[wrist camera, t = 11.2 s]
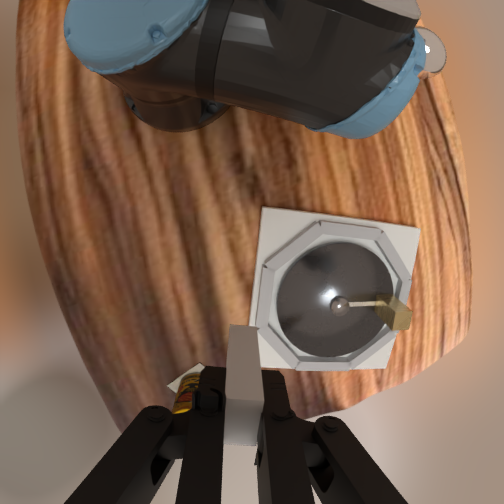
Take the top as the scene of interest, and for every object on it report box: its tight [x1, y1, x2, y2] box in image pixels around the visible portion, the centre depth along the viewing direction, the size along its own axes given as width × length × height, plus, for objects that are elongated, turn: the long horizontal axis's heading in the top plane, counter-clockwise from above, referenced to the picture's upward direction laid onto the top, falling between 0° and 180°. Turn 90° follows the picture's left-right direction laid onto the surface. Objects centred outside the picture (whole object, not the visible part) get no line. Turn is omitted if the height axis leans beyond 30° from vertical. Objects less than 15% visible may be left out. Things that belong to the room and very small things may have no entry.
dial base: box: [248, 206, 421, 371], centre depth 42 cm, size 22×22×4 cm
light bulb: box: [415, 26, 447, 79], centre depth 30 cm, size 7×7×12 cm
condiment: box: [167, 363, 205, 414], centre depth 41 cm, size 7×8×12 cm
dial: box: [276, 242, 413, 357], centre depth 37 cm, size 16×16×7 cm
